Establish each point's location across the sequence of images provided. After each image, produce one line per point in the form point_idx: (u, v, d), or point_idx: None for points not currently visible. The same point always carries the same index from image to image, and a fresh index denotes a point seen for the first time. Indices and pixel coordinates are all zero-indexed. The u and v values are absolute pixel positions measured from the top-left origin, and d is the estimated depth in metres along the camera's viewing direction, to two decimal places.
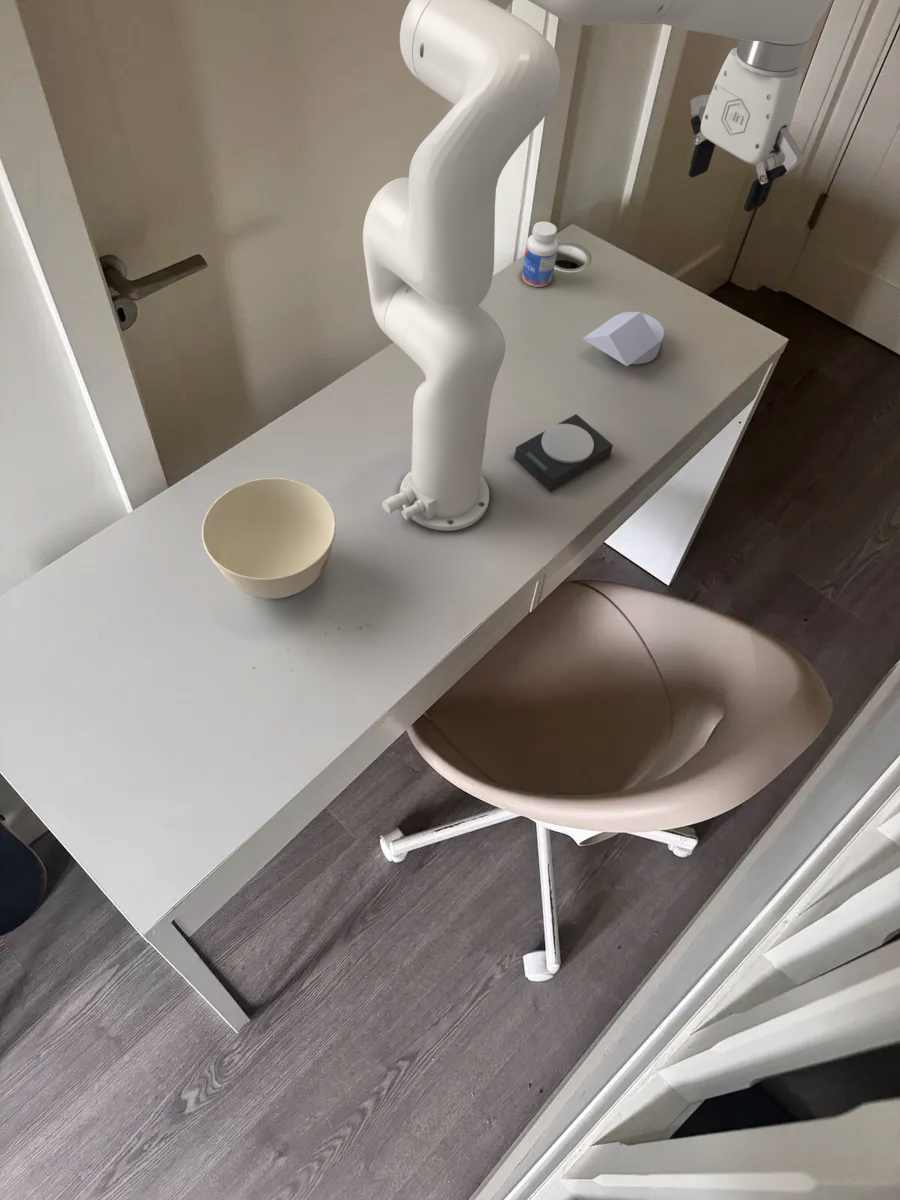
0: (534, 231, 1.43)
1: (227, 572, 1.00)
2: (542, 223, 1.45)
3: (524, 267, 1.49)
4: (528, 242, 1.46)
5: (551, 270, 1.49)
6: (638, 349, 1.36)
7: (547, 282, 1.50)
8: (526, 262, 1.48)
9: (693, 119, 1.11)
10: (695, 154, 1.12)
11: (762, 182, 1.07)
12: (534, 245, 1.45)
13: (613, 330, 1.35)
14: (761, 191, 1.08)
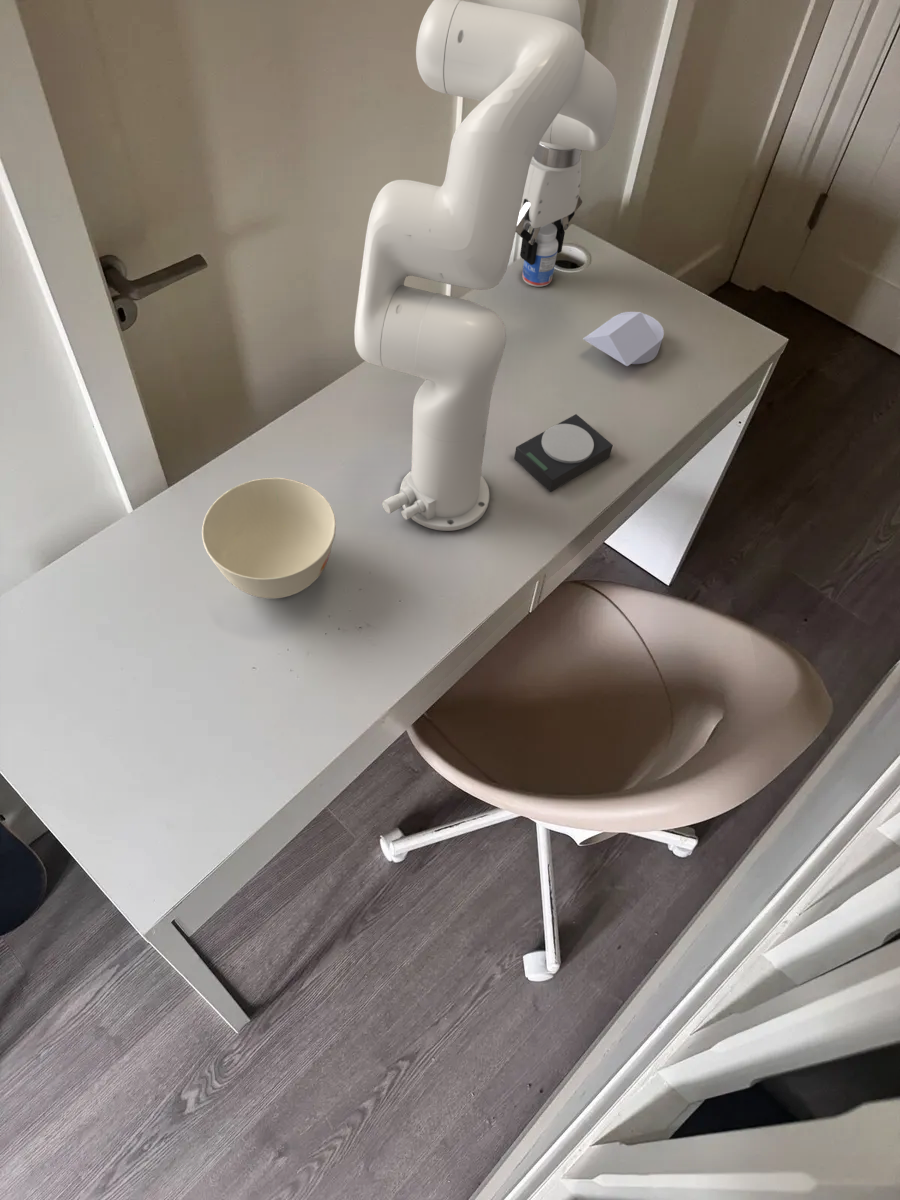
0: None
1: (227, 572, 1.00)
2: None
3: (524, 267, 1.49)
4: None
5: (551, 270, 1.49)
6: (638, 349, 1.36)
7: (547, 282, 1.50)
8: (526, 262, 1.48)
9: None
10: None
11: (522, 236, 1.44)
12: None
13: (613, 330, 1.35)
14: (522, 244, 1.45)
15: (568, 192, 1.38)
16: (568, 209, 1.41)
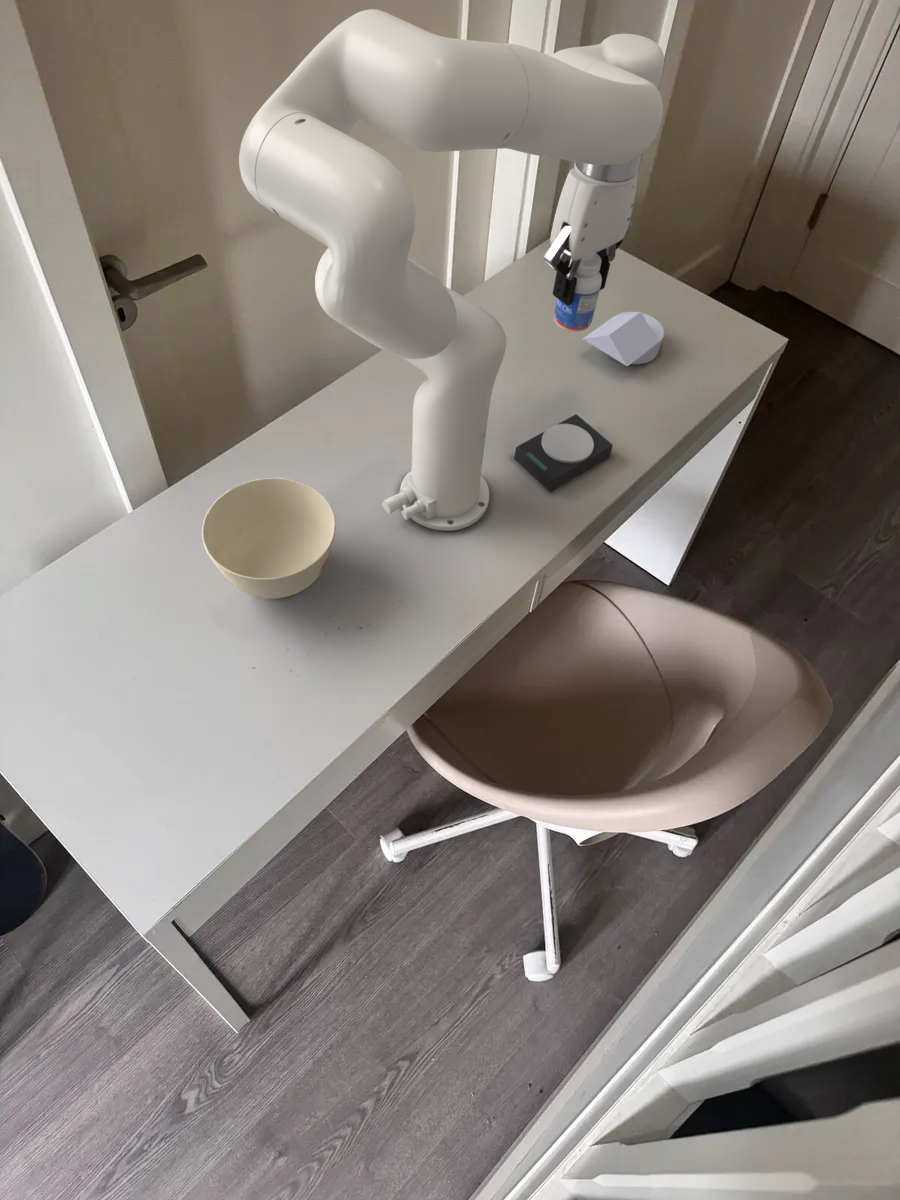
0: None
1: (227, 572, 1.00)
2: None
3: (557, 307, 1.17)
4: None
5: (592, 311, 1.17)
6: (638, 349, 1.36)
7: (586, 326, 1.18)
8: (560, 302, 1.16)
9: None
10: None
11: None
12: None
13: (613, 330, 1.35)
14: (557, 279, 1.13)
15: (619, 213, 1.06)
16: (617, 235, 1.10)
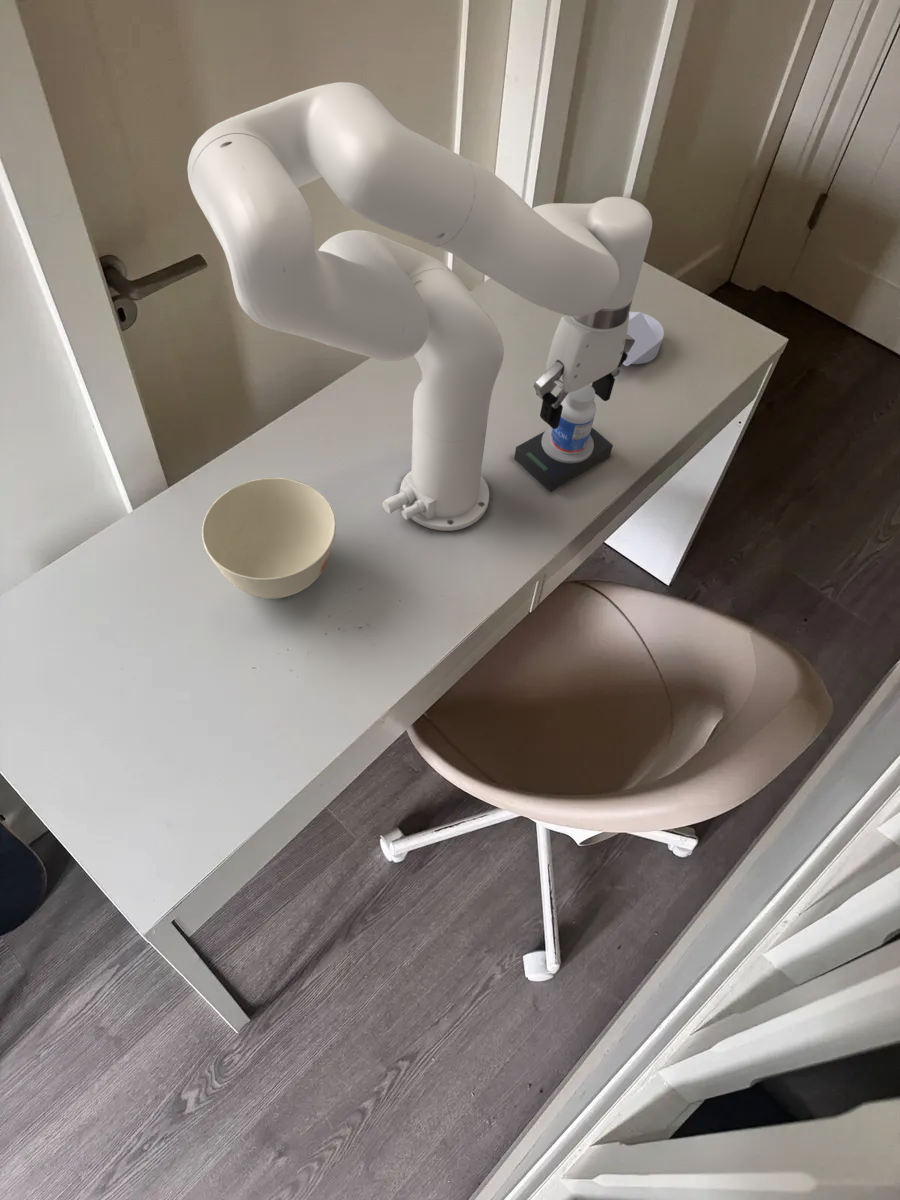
0: (567, 395, 1.16)
1: (227, 572, 1.00)
2: None
3: (553, 431, 1.22)
4: None
5: (587, 436, 1.22)
6: (638, 349, 1.36)
7: (581, 449, 1.23)
8: (556, 428, 1.21)
9: None
10: None
11: None
12: (567, 411, 1.18)
13: None
14: (543, 405, 1.15)
15: (611, 350, 1.10)
16: (610, 367, 1.13)
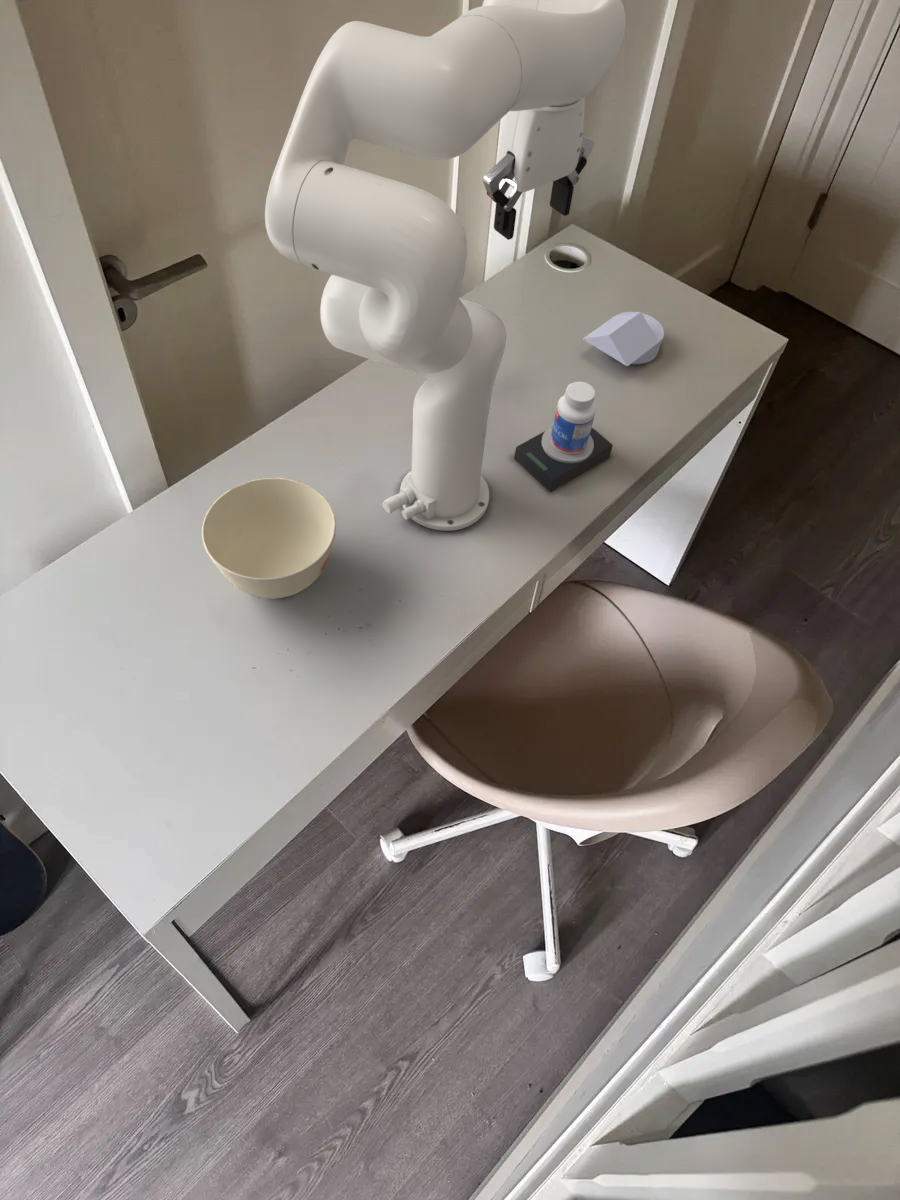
0: (567, 395, 1.16)
1: (227, 572, 1.00)
2: (577, 384, 1.18)
3: (553, 431, 1.22)
4: (559, 406, 1.19)
5: (587, 436, 1.22)
6: (638, 349, 1.36)
7: (581, 449, 1.23)
8: (556, 428, 1.21)
9: None
10: None
11: None
12: (567, 411, 1.18)
13: (613, 330, 1.35)
14: (496, 211, 1.08)
15: (567, 143, 1.02)
16: (566, 167, 1.06)
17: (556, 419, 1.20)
